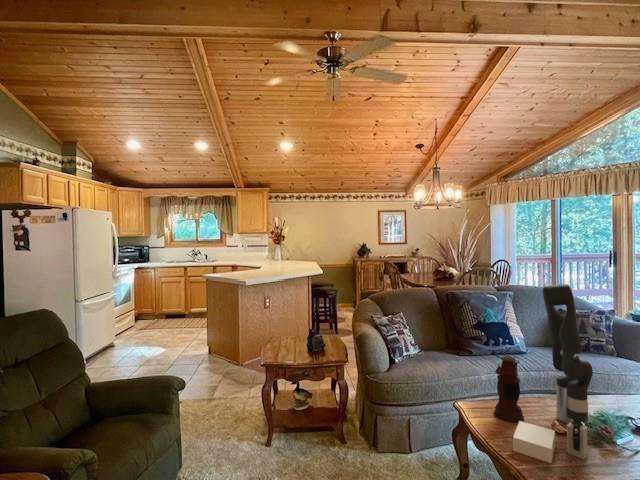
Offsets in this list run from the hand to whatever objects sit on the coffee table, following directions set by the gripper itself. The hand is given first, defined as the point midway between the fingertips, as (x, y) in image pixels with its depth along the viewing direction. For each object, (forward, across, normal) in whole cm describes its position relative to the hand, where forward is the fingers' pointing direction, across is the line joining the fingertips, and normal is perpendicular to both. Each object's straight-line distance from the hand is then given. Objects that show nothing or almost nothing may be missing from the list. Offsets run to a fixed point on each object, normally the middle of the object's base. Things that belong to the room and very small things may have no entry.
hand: (576, 445), depth 151 cm
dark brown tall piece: (+4, -17, -29) cm, 34 cm away
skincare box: (+4, 0, 0) cm, 4 cm away
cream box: (+4, +5, -15) cm, 16 cm away
